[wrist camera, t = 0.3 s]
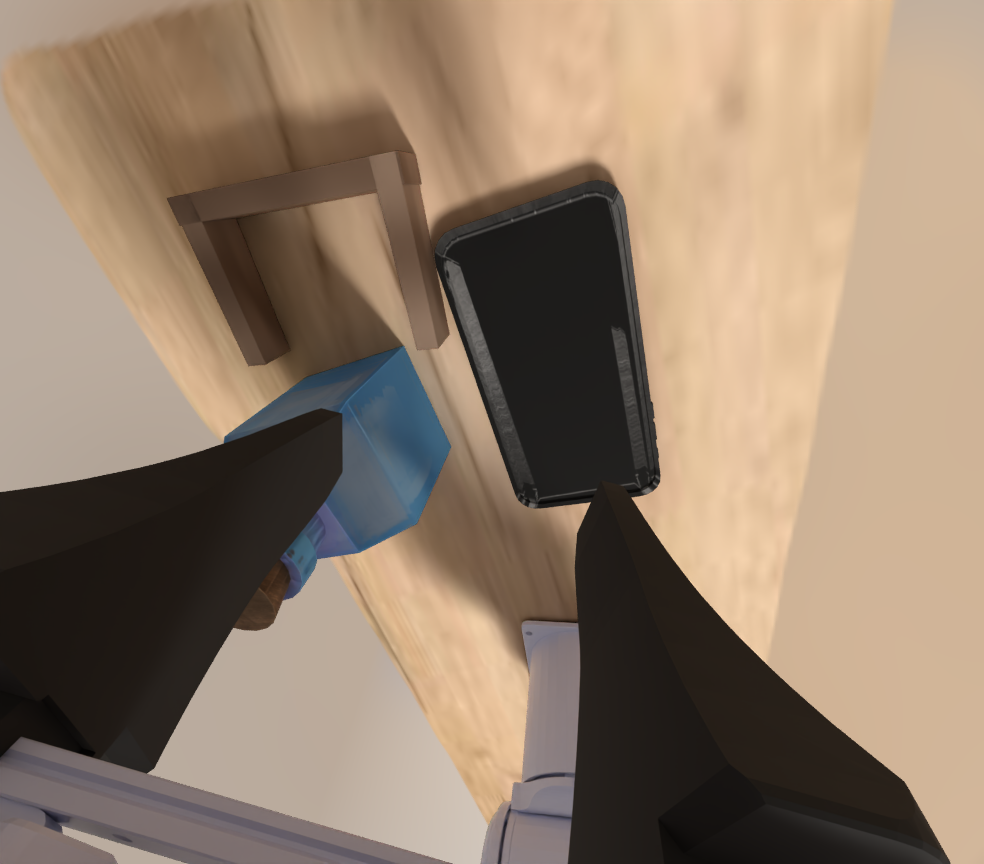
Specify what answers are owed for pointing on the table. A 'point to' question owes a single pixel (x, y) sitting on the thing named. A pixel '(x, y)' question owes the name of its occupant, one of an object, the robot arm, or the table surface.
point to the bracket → (386, 173)
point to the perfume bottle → (356, 467)
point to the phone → (556, 343)
